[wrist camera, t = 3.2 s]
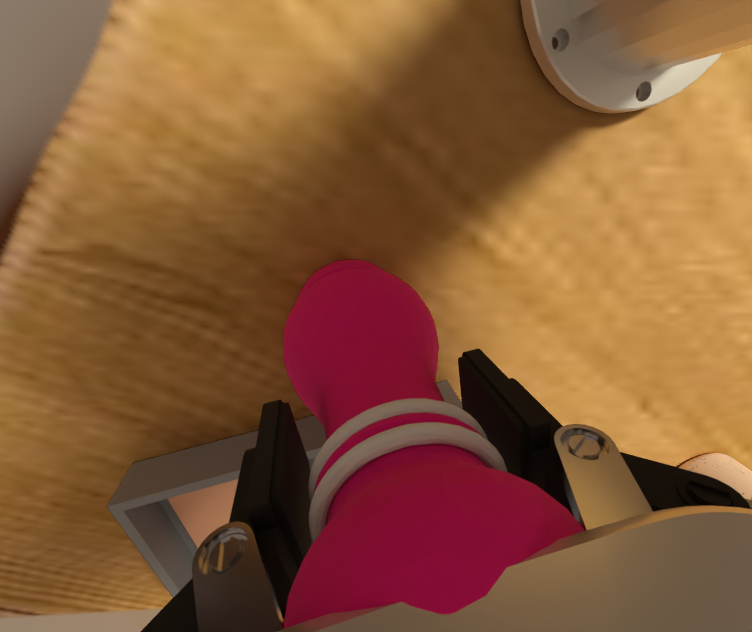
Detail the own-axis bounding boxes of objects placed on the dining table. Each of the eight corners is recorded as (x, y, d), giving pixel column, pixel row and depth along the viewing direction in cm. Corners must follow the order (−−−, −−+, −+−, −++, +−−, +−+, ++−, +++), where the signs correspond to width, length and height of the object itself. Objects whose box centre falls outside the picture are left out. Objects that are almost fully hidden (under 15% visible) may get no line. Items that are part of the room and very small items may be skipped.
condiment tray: (132, 463, 22) (106, 506, 19) (446, 380, 24) (465, 407, 21) (197, 566, 26) (184, 613, 23) (458, 488, 28) (475, 523, 25)
